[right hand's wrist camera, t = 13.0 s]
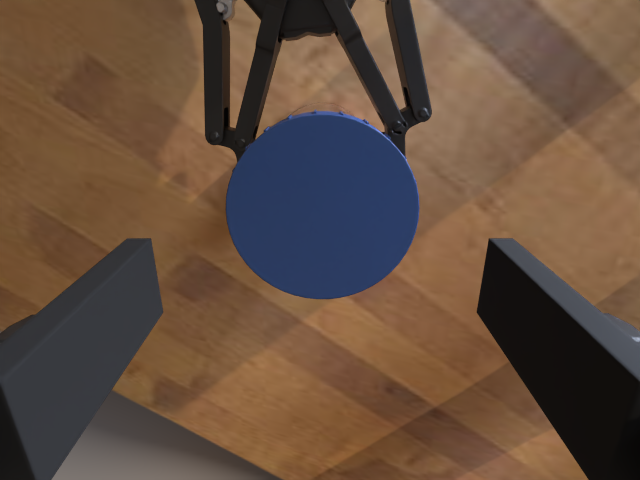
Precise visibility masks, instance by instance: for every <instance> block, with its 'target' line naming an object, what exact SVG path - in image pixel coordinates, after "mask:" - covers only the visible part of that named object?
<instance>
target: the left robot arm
mask: <svg viewBox="0 0 640 480" xmlns="http://www.w3.org/2000/svg"><path fill="white" fill-rule="evenodd" d="M236 1H237V0H195V3H196V6H197V9H198V12H199V15H200V18H201V21H202V24H203V50H204V100H205V137H206V140H207V142H208V143H210V144H212V145H221V146H225V147H228V148H231V149H232V150H233V151H234V152H235V154H236V157H237V163H238V161H239V159H240V158H241V157H242V155H243V154H244V152H245V151H246V150H245V148H246V147H247V146H248V145H249V144H251V143H253V142H254V141H255V140H256V139H255V137H256V134H257V130H258V126H259V123H260V119H261V115H262V112H263V108H264V104H265V100H266V97H267V93H268V89H269V86H270V82H271V78H272V74H273V71H274V67H275V63H276V60H277V56H278V54H279V51H280V48H281V44H282V40H283V39H284V40H286V41H291V40H298V39H300V38H302V37H305V36H307V35H312V36H317V37H324V36H331V34H333V33H335V35H336V37H337V38H338V40H339V42H340V44H341V46H342V47H343V49H344V51H345V53H346V54H347V56H348V58H349V60H350V62H351V64H352V66H353V68H354V70H355V72H356V73H357V75H358V77H359V79H360V81H361V83H362V85H363V87H364V89H365V91H366V93H367V94H368V96H369V98H370V100H371V102H372V104H373V106H374V108H375V110H376V112H377V114H378V115H379V117H380V119H381V121H382V123H383V125H384V127H385V132H381V133H382V134H384V133H385V134H386V135H387V136H389V137H390V138H391V139H390V141H391V142H392V143H393V144H394V145H395V146H396V147H397V148H398V149H399V151H400V152H401V153H402V154H403V155H404V156H405V134H406V132H407V130H408V129H409V128H410V127H412V126H414V125H416V124H418V123H420V122H425V121H427V120H428V119H429V118H430V117H431V114H432V110H431V105H430V100H429V94H428V89H427V84H426V79H425V74H424V69H423V64H422V59H421V54H420V49H419V44H418V39H417V34H416V29H415V24H414V19H413V14H412V9H411V4H410V0H380V1H382V2H385V9H386V17H387V23H388V27H389V32H390V36H391V41H392V45H393V50H394V54H395V59H396V63H397V68H398V73H399V77H400V82H401V86H402V91H403V95H404V100H405V104H406V107H405V108H403V109H401V110H399V108H398V106H397V104H396V102H395V101H394V99H393V97H392V95H391V93H390V91H389V89H388V87H387V85H386V83H385V81H384V79H383V77H382V75H381V73H380V71H379V69H378V67H377V65H376V63H375V61H374V59H373V57H372V55H371V53H370V51H369V49H368V47H367V45H366V43H365V41H364V39H363V37H362V35H361V32H360V29H359V27H358V25H357V23H356V21H355V19H354V17H353V15H352V13H351V11H350V10H351V8H352V6H353V4H354V2H355V1H356V0H244V1H245V2H246V3H247V4H248V5H249V7H250V8H251V9H252V10H253V11H254V12H255V14H256V15H257V16H258V17H259V18H260V19H261V24H260V28H259V32H258V36H257V40H256V49H255V53H254V57H253V61H252V65H251V69H250V73H249V77H248V81H247V85H246V89H245V93H244V97H243V101H242V105H241V109H240V113H239V117H238V121H237V125H236V128H232V127H230V31H229V25H228V21H230V20H232V19H233V17H234V15H235V3H236Z"/></svg>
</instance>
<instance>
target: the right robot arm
mask: <svg viewBox="0 0 640 480" xmlns="http://www.w3.org/2000/svg"><path fill="white" fill-rule="evenodd" d="M162 313H163V308H162V302H161V296H160V289H159V284H158V277H157V271H156V265H155V259H154V253H153V247H152V241H151V238H127V239H126V240H125V241H124V242H122V243H121V244H120V245H119V246H118V247H116V248H115V249H114V250H113V251H112V252H110V253H109V254H108V255H107V256H106V257H104V258H103V259H102V260H101V261H100V262H98V263H97V264H96V265H95V266H94V267H92V268H91V269H90V270H89V271H88V272H86V273H85V274H84V275H83V276H82V277H80V278H79V279H78V280H77V281H76V282H74V283H73V284H72V285H71V286H70V287H68V288H67V289H66V290H65V291H64V292H62V293H61V294H60V295H59V296H58V297H56V298H55V299H54V300H53V301H52V302H50V303H49V304H48V305H47V306H46V307H44V308H43V309H42V310H41V311H39V312H38V313H37V314H36V315H30V316H29V317H27V318H25V319H23V320H21V321H19V322H17V323H15V324H13V325H11V326H9V327H8V328H7V329H5V330H4V331H3V332H2V333H0V480H51V479H52V478H53V476H54V475H55V473H56V472H57V470H58V469H59V467H60V466H61V464H62V463H63V461H64V460H65V458H66V457H67V455H68V454H69V452H70V451H71V449H72V448H73V446H74V445H75V443H76V442H77V440H78V439H79V437H80V436H81V434H82V433H83V431H84V430H85V429H86V427H87V426H88V424H89V423H90V421H91V420H92V418H93V417H94V415H95V414H96V412H97V411H98V409H99V408H100V406H101V405H102V403H103V402H104V400H105V399H106V397H107V396H108V394H109V393H110V391H111V390H112V388H113V387H114V385H115V384H116V382H117V381H118V379H119V378H120V376H121V375H122V373H123V372H124V370H125V369H126V367H127V366H128V364H129V363H130V361H131V360H132V358H133V357H134V355H135V354H136V352H137V351H138V349H139V348H140V346H141V345H142V343H143V342H144V340H145V339H146V337H147V336H148V334H149V333H150V331H151V330H152V328H153V327H154V325H155V324H156V322H157V321H158V319H159V318H160V316H161V315H162ZM477 313H478V315H479V316H480V318H481V319H482V321H483V322H484V324H485V325H486V327H487V328H488V330H489V331H490V333H491V334H492V336H493V337H494V339H495V340H496V342H497V343H498V345H499V346H500V348H501V349H502V351H503V352H504V354H505V355H506V357H507V358H508V360H509V361H510V363H511V364H512V366H513V367H514V369H515V370H516V372H517V373H518V375H519V376H520V378H521V379H522V381H523V382H524V384H525V385H526V387H527V388H528V390H529V391H530V393H531V394H532V396H533V397H534V399H535V400H536V402H537V403H538V405H539V406H540V408H541V409H542V411H543V412H544V414H545V415H546V417H547V418H548V420H549V421H550V423H551V424H552V426H553V427H554V429H555V430H556V432H557V433H558V435H559V436H560V437H561V439H562V440H563V442H564V443H565V445H566V446H567V448H568V449H569V451H570V452H571V454H572V455H573V457H574V458H575V460H576V461H577V463H578V464H579V466H580V467H581V469H582V470H583V472H584V473H585V475H586V476H587V478H588V479H589V480H640V331H638V330H637V329H636V328H635V327H633V326H632V325H630V324H628V323H627V322H625V321H623V320H621V319H619V318H617V317H615V316H613V315H611V314H609V313H602V312H600V311H599V310H598V309H597V308H596V307H594V306H593V305H592V304H591V303H590V302H588V301H587V300H586V299H585V298H584V297H582V296H581V295H580V294H579V293H578V292H576V291H575V290H574V289H573V288H572V287H570V286H569V285H568V284H567V283H566V282H564V281H563V280H562V279H561V278H560V277H558V276H557V275H556V274H555V273H554V272H552V271H551V270H550V269H549V268H548V267H546V266H545V265H544V264H543V263H542V262H540V261H539V260H538V259H537V258H536V257H534V256H533V255H532V254H531V253H530V252H528V251H527V250H526V249H525V248H524V247H522V246H521V245H520V244H519V243H518V242H516V241H515V240H514V239H513V238H489V241H488V247H487V253H486V259H485V265H484V271H483V277H482V283H481V289H480V295H479V301H478V307H477Z"/></svg>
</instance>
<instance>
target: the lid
mask: <svg viewBox="0 0 640 480" xmlns="http://www.w3.org/2000/svg"><path fill="white" fill-rule="evenodd" d="M390 139H391V138H390V137H389V136H387V135H386V134H385V133H384V134H382V133H381V132H380V131H379V130H377V129H376V128H375V127H373V126H372V125H370V124H369V122H368V121H366V120H365V119H364V120H361V119H359V118H356V117H354V116H351V115H347V114H344V113H343V112H342V111H340V113H339V112H332V111H317V110H314V111H313V112H306V113H301V114H298V115H294V116H292V115H289V116H288V118H286V119H284V120H282V121H280V122H278V123H277V124H275V125H273V126H272V127H267V128H266V129H265V130H264V133H263V134H262V135H260V136H259V137H258V138H257V139H256V140H255V141H254V142H253V143H251V144H249V145H248V146H247V147H246V148H245V150H246V151H245V152H244V154H243V155H242V157H241V158H240V159H239V161H238V163H237V165H236V167H235V168H234V169H233V171H232V172H233V173H232V176H231V179H230V182H229V185H228V190H227V196H226V217H227V224H228V228H229V232H230V235H231V238H232V240H233V243H234V245H235V247H236V249H237V251H238V252H239V254H240V256H241V257H242V258H243V260H244V261H245V263H246V264H247V265H248V266H249V267H250V268H251V269H252V270H253V271H254V273H256V274H257V275H258V276H259V277H260V278H262V279H263V280H264V281H266V282H267V283H269V284H270V285H272V286H274V287H276V288H278V289H280V290H282V291H284V292H287V293H289V294H292V295H296V296H300V297H304V298H312V299H333V298H341V297H345V296H349V295H353V294H355V293H358V292H361V291H363V290H365V289H367V288H369V287H371V286H373V285H375V284H376V283H378V282H379V281H381V280H382V279H383V278H384V277H386V276H387V275H388V274H389V273H390V272H391V271H392V270H393V269H394V268H395V267H396V266H397V265H398V264H399V263H400V261H401V260H402V258H403V257H404V255H405V254H406V252H407V251H408V249H409V247H410V245H411V243H412V240H413V238H414V235H415V232H416V228H417V224H418V217H419V195H418V190H417V185H416V180H415V178H414V175H413V173H412V170H411V168H410V166H409V164H408V162H407V161H406V159H407V158H406V157H405V156H404V155H403V154H402V153H401V152H400V151H399V149H398V148H397V147H396V146H395V145H394V144H393V143H392V142H391V141H390Z"/></svg>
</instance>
